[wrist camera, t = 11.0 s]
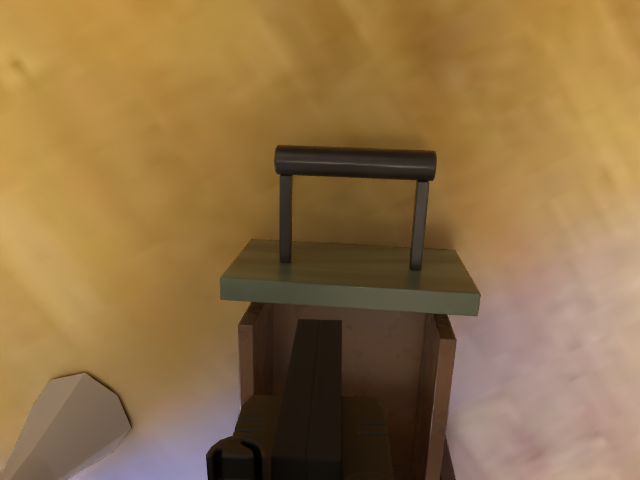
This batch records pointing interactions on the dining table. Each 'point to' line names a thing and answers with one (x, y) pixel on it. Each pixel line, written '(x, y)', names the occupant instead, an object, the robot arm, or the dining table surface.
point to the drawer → (359, 305)
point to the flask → (67, 430)
